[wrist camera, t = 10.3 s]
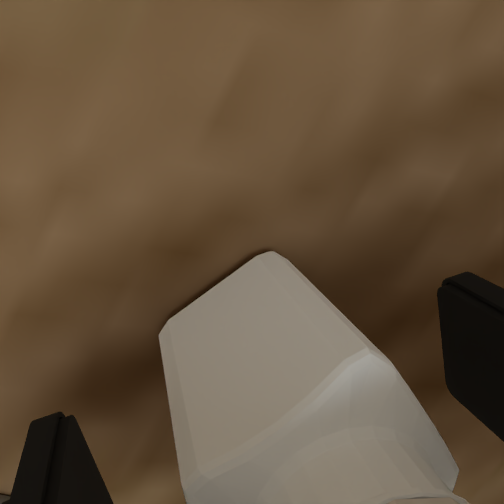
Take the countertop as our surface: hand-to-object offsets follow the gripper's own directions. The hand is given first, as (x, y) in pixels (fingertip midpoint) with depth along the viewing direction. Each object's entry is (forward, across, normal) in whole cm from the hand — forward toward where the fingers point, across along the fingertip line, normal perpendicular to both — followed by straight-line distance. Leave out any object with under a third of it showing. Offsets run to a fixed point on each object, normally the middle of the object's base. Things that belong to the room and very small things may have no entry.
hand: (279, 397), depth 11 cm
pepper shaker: (+3, 0, 0) cm, 3 cm away
